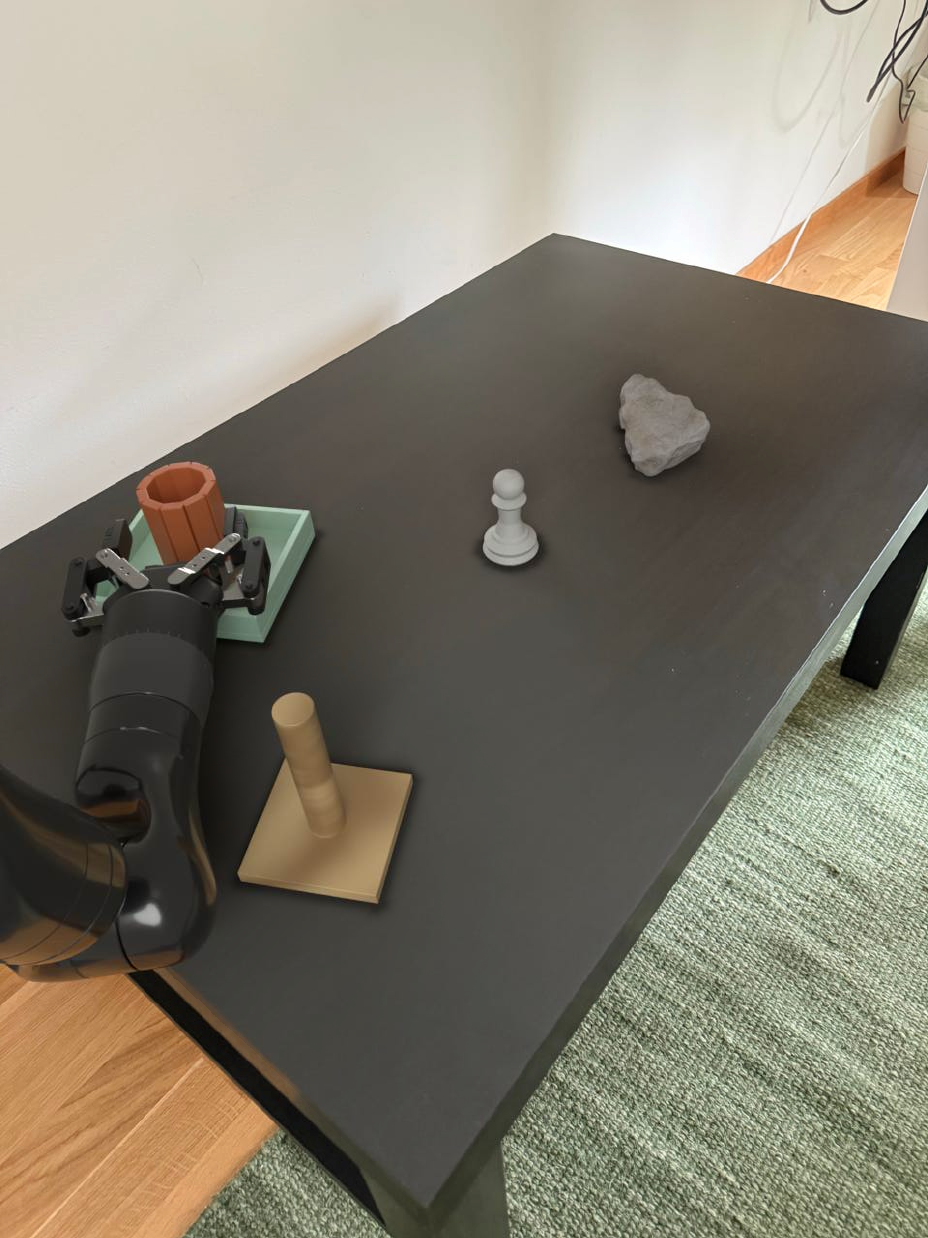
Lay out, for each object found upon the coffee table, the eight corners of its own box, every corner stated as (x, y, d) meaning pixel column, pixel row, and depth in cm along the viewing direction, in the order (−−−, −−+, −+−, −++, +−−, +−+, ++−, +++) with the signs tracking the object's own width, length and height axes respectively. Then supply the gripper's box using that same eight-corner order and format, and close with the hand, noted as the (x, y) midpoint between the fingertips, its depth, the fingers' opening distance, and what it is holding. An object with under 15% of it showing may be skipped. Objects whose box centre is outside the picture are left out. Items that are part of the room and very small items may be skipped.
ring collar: (157, 592, 77) (122, 506, 70) (188, 543, 81) (157, 458, 75) (224, 599, 76) (195, 512, 69) (252, 550, 80) (226, 464, 73)
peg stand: (240, 881, 58) (185, 763, 49) (288, 765, 64) (246, 642, 56) (377, 904, 57) (346, 786, 48) (413, 782, 63) (391, 658, 54)
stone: (585, 436, 90) (587, 383, 86) (655, 411, 92) (660, 359, 88) (643, 489, 83) (648, 434, 79) (716, 462, 86) (725, 407, 82)
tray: (89, 623, 76) (77, 599, 74) (158, 521, 85) (148, 497, 83) (263, 643, 73) (255, 618, 71) (315, 535, 82) (310, 510, 80)
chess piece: (502, 575, 77) (498, 498, 71) (472, 544, 80) (467, 468, 74) (549, 553, 78) (549, 476, 73) (518, 524, 81) (516, 448, 75)
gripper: (248, 622, 59) (259, 471, 70) (21, 650, 58) (70, 493, 70) (273, 698, 64) (279, 546, 75) (65, 725, 63) (103, 568, 75)
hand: (179, 521), depth 72 cm, fingers open, 8 cm apart
